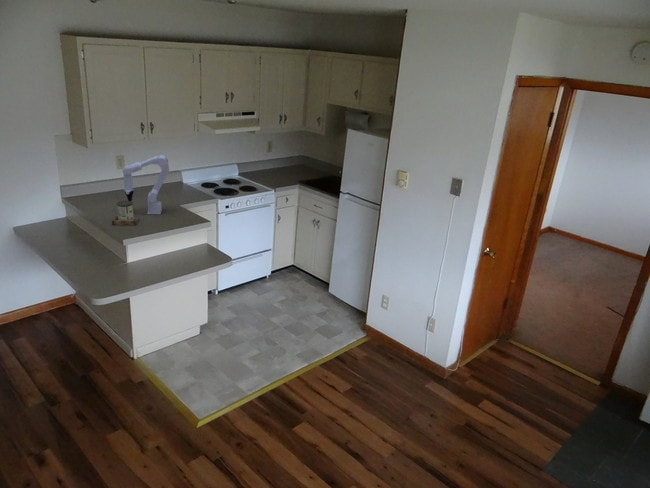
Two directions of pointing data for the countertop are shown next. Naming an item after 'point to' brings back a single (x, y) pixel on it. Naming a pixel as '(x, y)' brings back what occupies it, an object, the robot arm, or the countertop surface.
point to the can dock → (125, 221)
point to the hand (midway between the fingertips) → (130, 200)
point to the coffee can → (125, 210)
